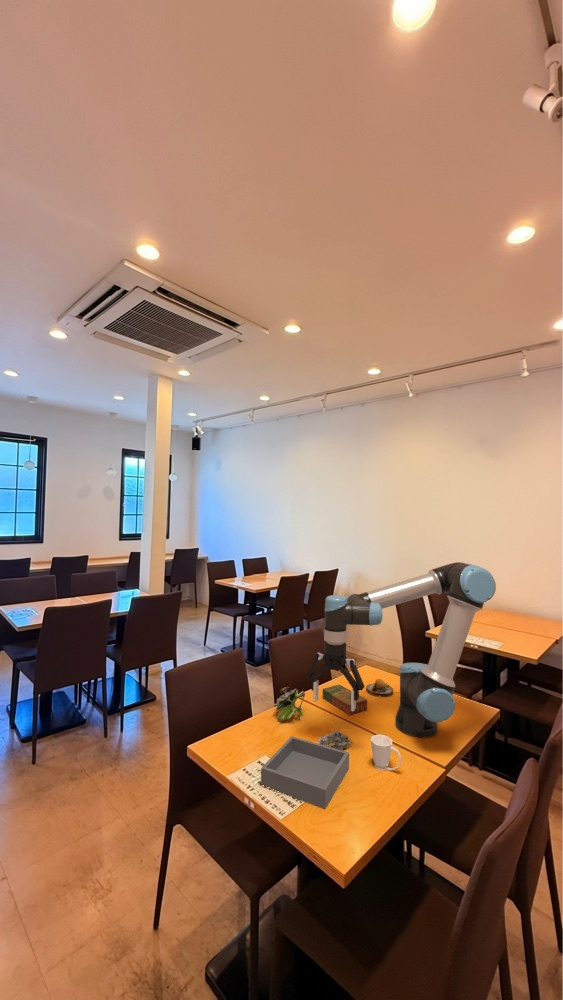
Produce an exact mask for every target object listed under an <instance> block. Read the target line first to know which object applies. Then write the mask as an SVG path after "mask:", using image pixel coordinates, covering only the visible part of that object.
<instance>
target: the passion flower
mask: <svg viewBox="0 0 563 1000" xmlns="http://www.w3.org/2000/svg"><path fill="white" fill-rule="evenodd" d="M289 689H290V686H285V687H284V688H283V687H282V688H281V689H280V690H279V691H280V692H279V694H280V696H279V698H277V699H276V703H274V704H273V706H274V707H275V711H278V715H277V721H278V722H282V721H284V720H288V719H290V718H292V717H293V716H294V715H295V712H296V714H297V715H298V716H299V717H298V719H299V720H301V717H303V716H304V714H303V711H302V705H303V702H304V699H305V696H306V693H305V691H304V690H302V691H301V692H299V690H298V689H297V688H294V689H290V690H289ZM288 690H289V691H288ZM283 693H284V694H283ZM299 698H301V702H300V705H299V706H296V702H297V700H298V699H299Z"/></svg>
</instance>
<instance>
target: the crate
mask: <svg viewBox="0 0 563 1000" xmlns="http://www.w3.org/2000/svg"><path fill="white" fill-rule="evenodd" d="M328 746H329V745H327V746H324V745H321V744H320V743H318V742H313V741H310V740H307V739H303V738H299V737H297V736H293V735H292V736H291V735H290V737H289V738H288V739H287V740H286V741H285V742H284V743H283V744H282V746H280V748H278V749H277V751H275V753H274V754H273V755H272V756H271V757H270V758H269V759H268V760H267V761H266V762H265V763H264V764H263V766H261V768H260V785H261V784H262V785H264V786H267V787H270V788H271V789H274V790H276V791H275V792H277V791H279V792H281V793H280V794H282V793H284V794H283V795H285V794H286V796H288V795H289V796H288V797H290V796H292V797H291V798H293V797H294V799H296V798H297V799H296V800H299V799H300V800H299V801H301V800H302V802H304V803H307V804H310V805H313V806H315V807H318V808H321V809H324V810H326V808H327V807H328V806H329V804H330V802H331V801H332V798H333V797H334V795H335V794H336V792H337V790H338V788H339V787H340V785H341V784H342V782H343V780H344V778H345V777H346V774H347V773H348V771H349V770H350V752H349V751H345V750H343V749H342V750H338V749H335V748H331V747H328ZM271 789H270V790H271ZM274 790H273V791H274ZM279 792H278V793H279Z"/></svg>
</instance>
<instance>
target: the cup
mask: <svg viewBox="0 0 563 1000" xmlns="http://www.w3.org/2000/svg"><path fill="white" fill-rule="evenodd" d="M370 745H371V753H372V754H371V755H372V759H373V763H374V768H375V769H377V770H378V771H382V772H383V771H386V770H387V771H394V770H396V769H398V768H399V767H401V765H402V756H401V753H400V752H399V750H398V749H397V748H395V747H394V746H393V739H392V738H390V737H388V736H387V735H384V734H375V735H372V736H371V738H370ZM392 751H394V752H396V754H397V756H398V759H399V764H398V765H397V766H395V767H389V764H390V760H391V752H392Z"/></svg>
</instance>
